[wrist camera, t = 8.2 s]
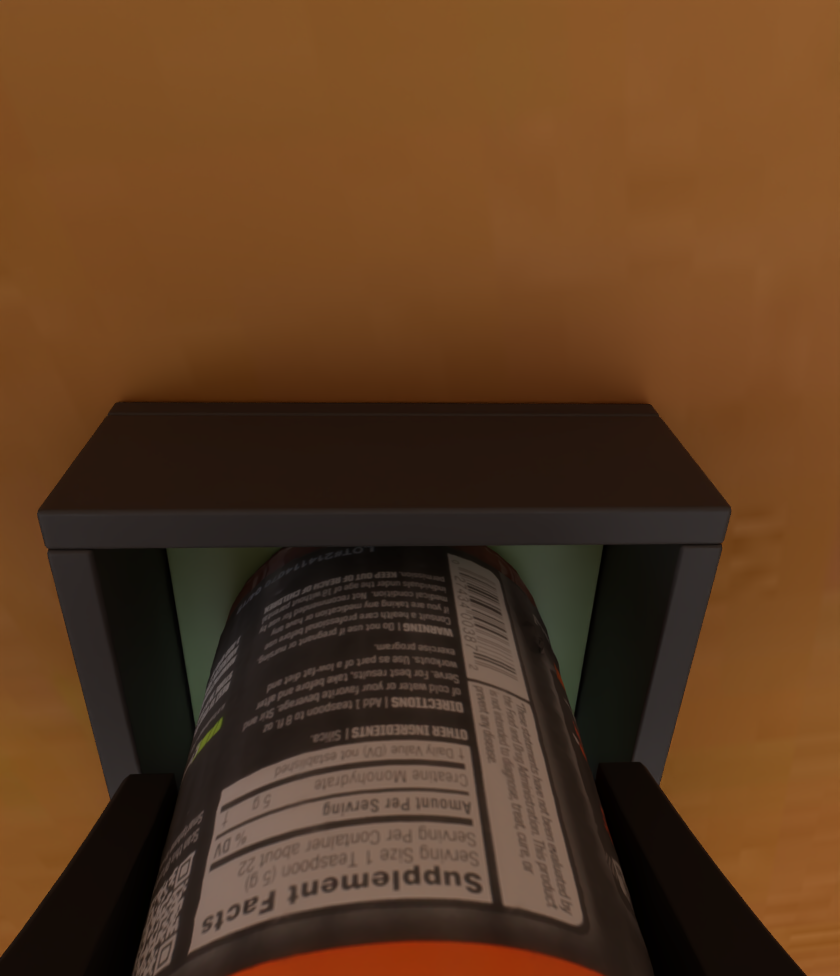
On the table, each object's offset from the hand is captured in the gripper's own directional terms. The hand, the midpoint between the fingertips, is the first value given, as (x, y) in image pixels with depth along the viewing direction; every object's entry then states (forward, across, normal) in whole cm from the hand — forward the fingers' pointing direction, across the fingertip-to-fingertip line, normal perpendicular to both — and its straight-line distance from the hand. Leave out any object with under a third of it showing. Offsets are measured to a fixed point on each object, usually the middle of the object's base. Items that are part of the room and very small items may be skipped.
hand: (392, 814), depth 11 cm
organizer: (+5, 0, +4) cm, 6 cm away
